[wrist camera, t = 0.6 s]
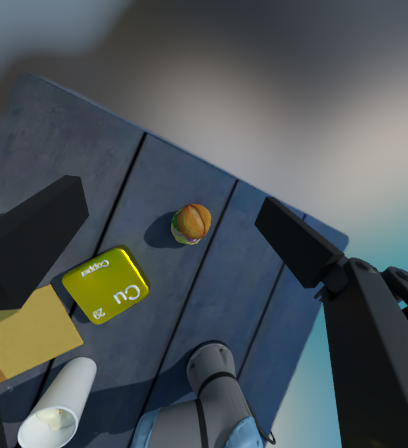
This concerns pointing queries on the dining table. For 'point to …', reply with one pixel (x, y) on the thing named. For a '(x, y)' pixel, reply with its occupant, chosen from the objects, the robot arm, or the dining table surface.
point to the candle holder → (59, 407)
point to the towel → (35, 333)
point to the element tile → (107, 284)
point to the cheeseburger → (191, 224)
